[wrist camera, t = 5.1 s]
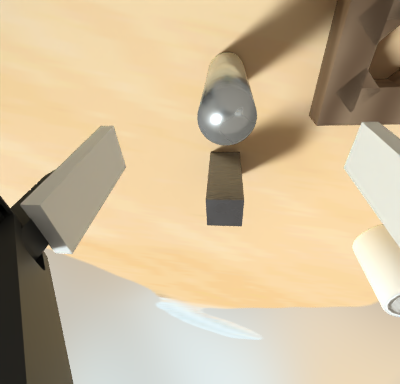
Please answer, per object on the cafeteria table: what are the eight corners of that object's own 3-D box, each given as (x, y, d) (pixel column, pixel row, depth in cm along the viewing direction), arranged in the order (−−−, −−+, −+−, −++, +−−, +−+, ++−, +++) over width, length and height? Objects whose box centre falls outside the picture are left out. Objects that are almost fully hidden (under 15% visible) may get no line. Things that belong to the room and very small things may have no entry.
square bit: (211, 175, 35) (207, 225, 27) (210, 152, 32) (205, 199, 25) (238, 175, 34) (241, 226, 27) (239, 152, 32) (244, 200, 24)
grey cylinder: (208, 92, 27) (199, 145, 17) (207, 53, 25) (195, 88, 15) (243, 91, 27) (253, 145, 17) (245, 51, 24) (259, 86, 14)
